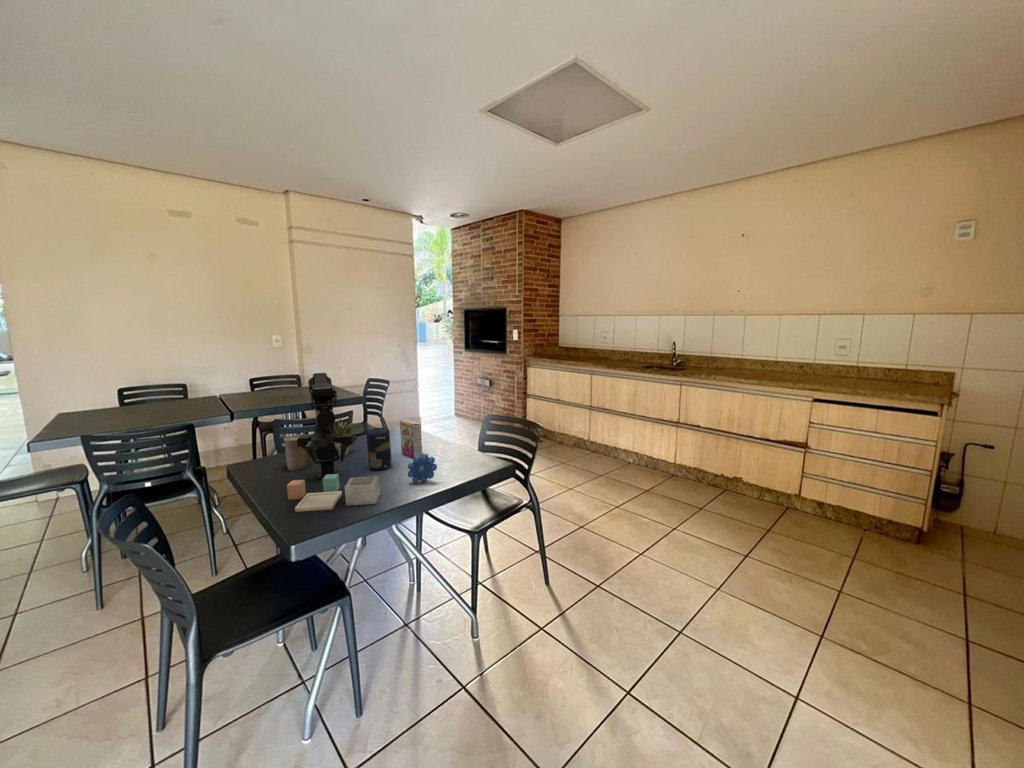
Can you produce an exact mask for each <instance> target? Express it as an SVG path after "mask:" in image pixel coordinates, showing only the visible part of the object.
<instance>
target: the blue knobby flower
mask: <svg viewBox="0 0 1024 768" xmlns="http://www.w3.org/2000/svg"><path fill="white" fill-rule="evenodd" d="M435 461H436V460H435V457H434V456H429V455H428V453H422V455H421V457H420V456H415V457H414V458H412V462H409V463H408V465H407V469H408V471H407V477H408V478H412V479H411V480H412V483H415V484H416V483H418V482H419V483H421V484H425V483H427V482H428V479H429V480H430V479H432V478H434V476H435V471H437V469H438V464H436V463H435Z"/></svg>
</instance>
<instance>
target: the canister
mask: <svg viewBox="0 0 1024 768" xmlns="http://www.w3.org/2000/svg"><path fill="white" fill-rule="evenodd" d="M390 434H391V433H390V430H389V428H387V427H373V428H370V429H367V431H366V434H365V435H366V448H367V459H368V460H367V461H368V467H369V468H370V469H371V470H375V471H379V470H384V469H387V468H390V466H391V465H392V451H391V450H392V449H391V438H390V437H391V436H390Z"/></svg>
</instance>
